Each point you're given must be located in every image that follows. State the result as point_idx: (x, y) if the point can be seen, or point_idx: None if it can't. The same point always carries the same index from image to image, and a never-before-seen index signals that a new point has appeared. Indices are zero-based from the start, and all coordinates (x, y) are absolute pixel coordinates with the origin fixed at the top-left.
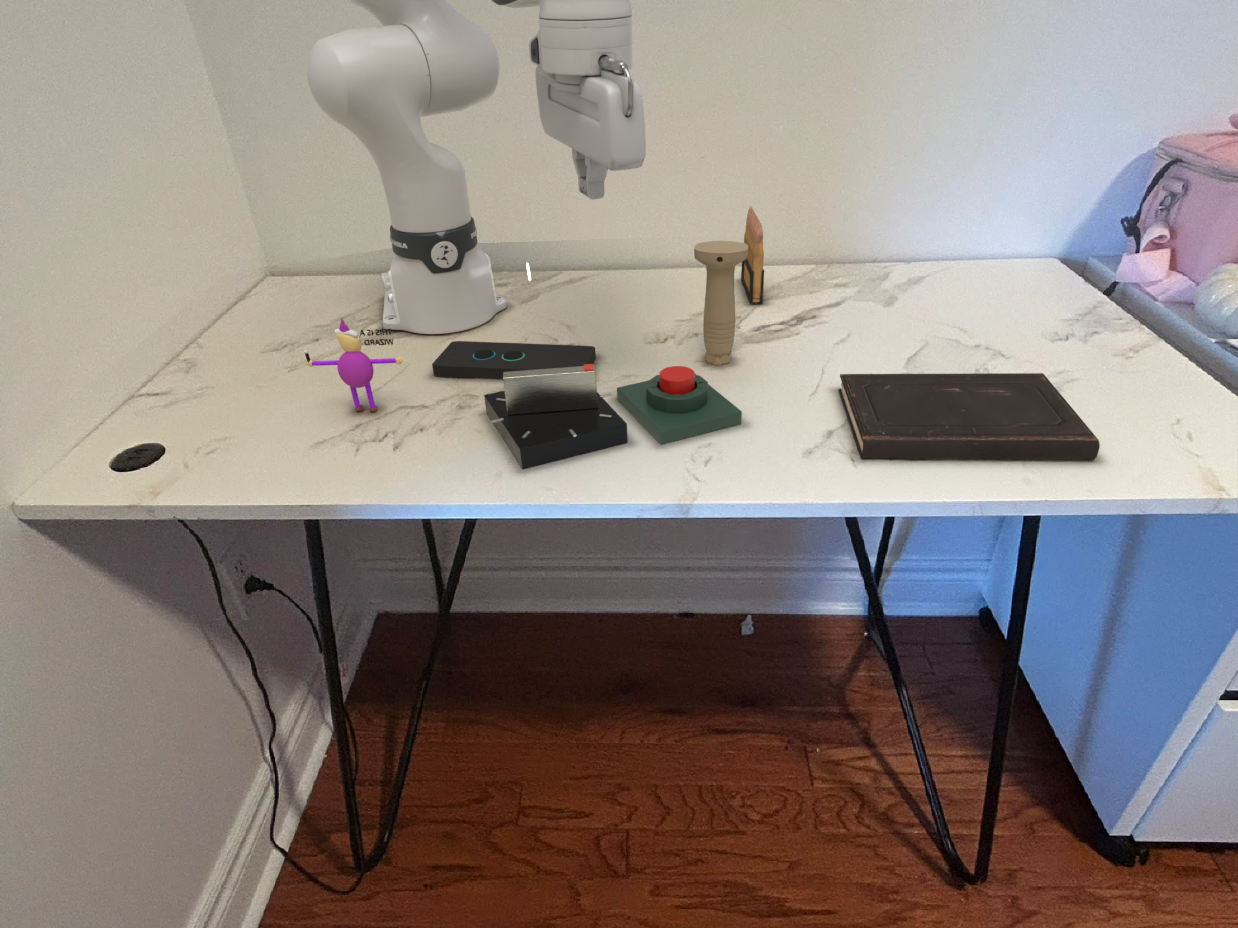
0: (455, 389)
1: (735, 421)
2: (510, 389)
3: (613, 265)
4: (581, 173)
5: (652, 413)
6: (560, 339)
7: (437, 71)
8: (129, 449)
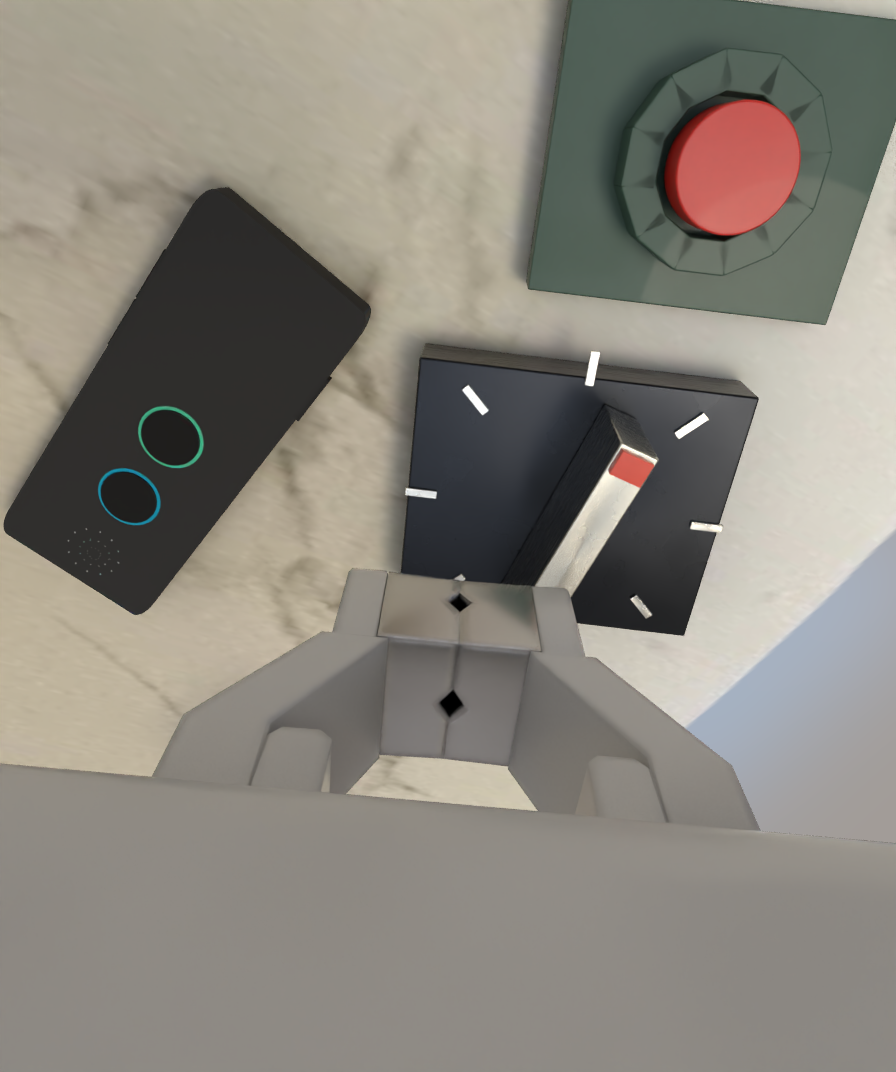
0: (245, 584)
1: None
2: None
3: None
4: (365, 762)
5: (730, 286)
6: (30, 214)
7: None
8: None
